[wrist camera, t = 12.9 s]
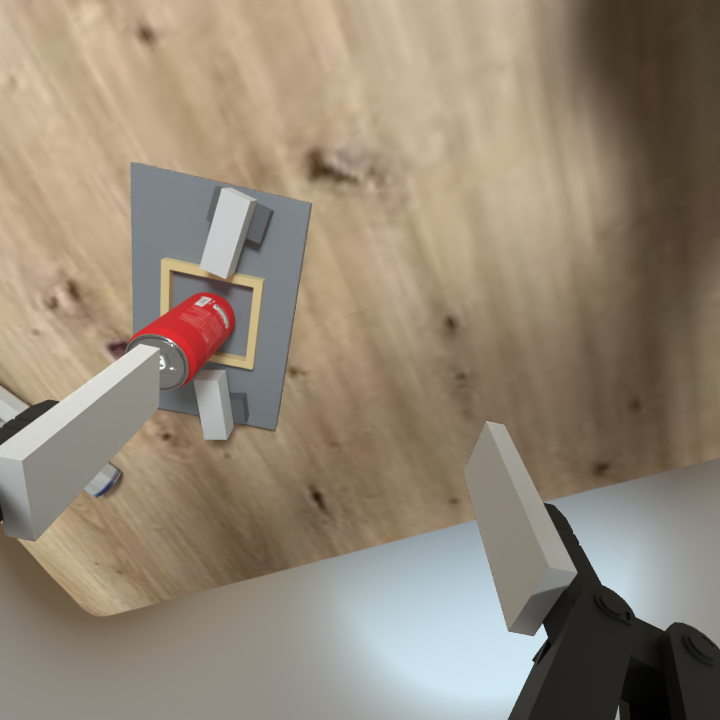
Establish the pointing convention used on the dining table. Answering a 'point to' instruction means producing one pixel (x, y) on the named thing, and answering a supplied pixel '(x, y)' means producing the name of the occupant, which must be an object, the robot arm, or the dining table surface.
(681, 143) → the dining table surface
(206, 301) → the beverage can
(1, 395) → the white long shaft part
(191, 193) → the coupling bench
